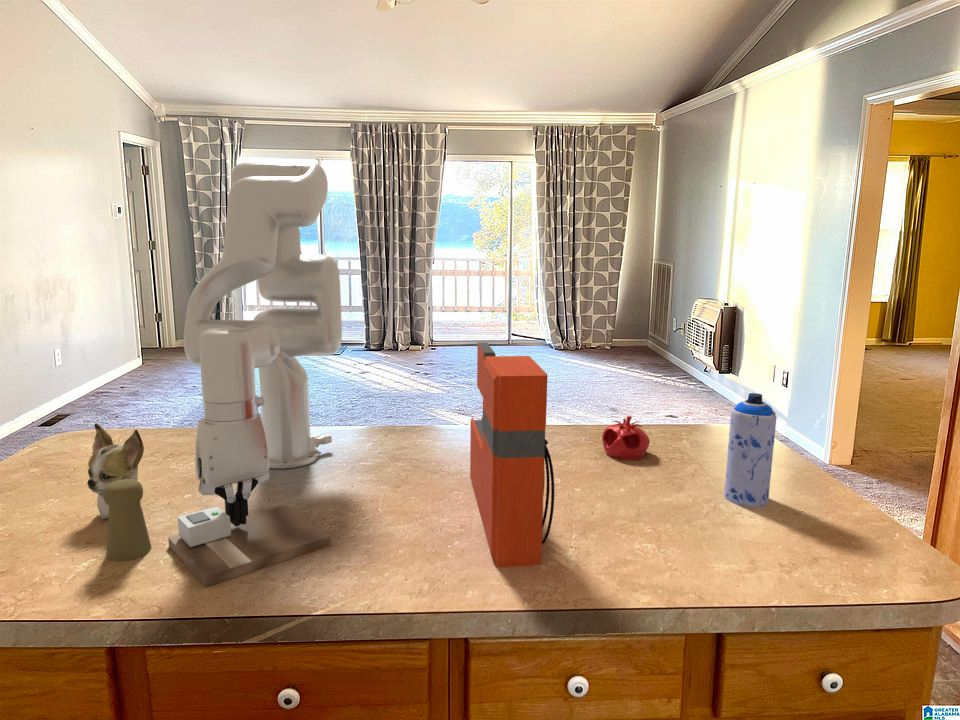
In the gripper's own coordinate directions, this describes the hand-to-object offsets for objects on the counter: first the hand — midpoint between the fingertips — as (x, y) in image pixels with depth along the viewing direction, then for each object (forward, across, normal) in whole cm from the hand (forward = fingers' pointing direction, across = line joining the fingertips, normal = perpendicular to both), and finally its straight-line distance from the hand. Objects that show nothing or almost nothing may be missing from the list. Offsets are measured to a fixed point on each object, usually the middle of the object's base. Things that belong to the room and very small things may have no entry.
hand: (237, 522), depth 104 cm
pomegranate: (+3, -79, +16) cm, 80 cm away
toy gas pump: (+3, -38, +21) cm, 44 cm away
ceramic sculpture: (+3, +12, -22) cm, 25 cm away
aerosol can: (+3, -76, +45) cm, 88 cm away
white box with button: (+1, +5, 0) cm, 5 cm away
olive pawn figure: (+3, +14, -6) cm, 16 cm away
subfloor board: (+3, 0, +4) cm, 5 cm away
